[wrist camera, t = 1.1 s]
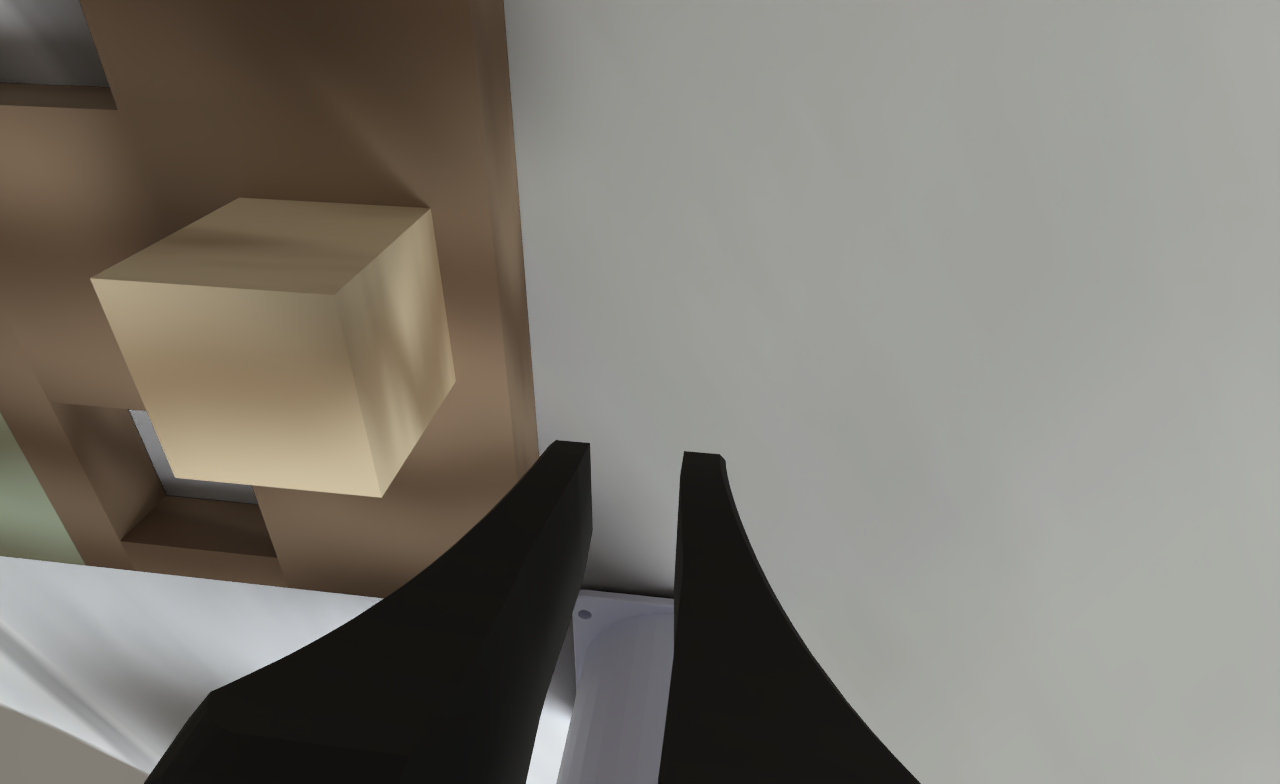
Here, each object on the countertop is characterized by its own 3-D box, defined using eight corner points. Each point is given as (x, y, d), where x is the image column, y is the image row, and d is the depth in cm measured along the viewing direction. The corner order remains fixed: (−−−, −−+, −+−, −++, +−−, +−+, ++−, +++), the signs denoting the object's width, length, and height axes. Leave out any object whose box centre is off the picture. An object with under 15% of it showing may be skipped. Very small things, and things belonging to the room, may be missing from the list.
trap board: (547, 562, 28) (530, 614, 26) (-25, 503, 30) (-83, 546, 28) (480, -290, 15) (436, -325, 13) (-518, -277, 17) (-695, -305, 15)
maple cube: (455, 381, 21) (381, 497, 16) (288, 368, 21) (174, 477, 17) (430, 208, 18) (334, 295, 14) (239, 197, 18) (90, 278, 14)
